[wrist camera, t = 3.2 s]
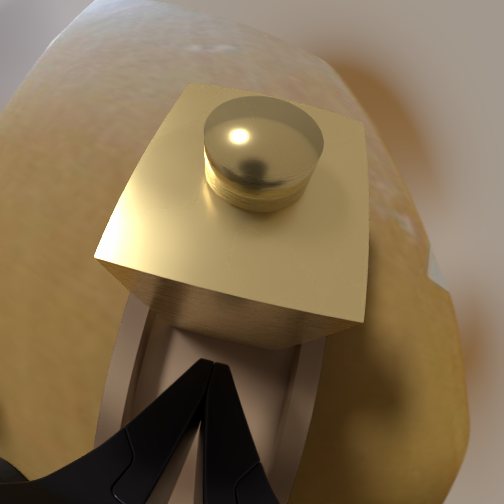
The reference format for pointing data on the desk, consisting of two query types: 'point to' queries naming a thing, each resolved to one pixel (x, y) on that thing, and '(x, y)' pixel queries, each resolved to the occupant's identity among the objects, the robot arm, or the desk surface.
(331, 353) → the desk surface
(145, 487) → the robot arm
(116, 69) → the desk surface
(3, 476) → the pen holder
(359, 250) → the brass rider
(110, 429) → the balance beam
